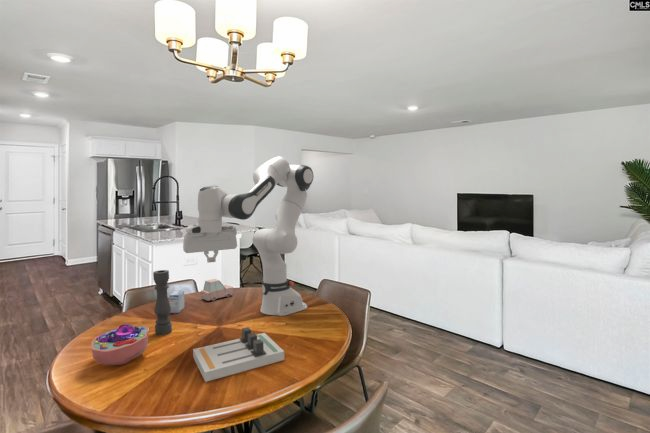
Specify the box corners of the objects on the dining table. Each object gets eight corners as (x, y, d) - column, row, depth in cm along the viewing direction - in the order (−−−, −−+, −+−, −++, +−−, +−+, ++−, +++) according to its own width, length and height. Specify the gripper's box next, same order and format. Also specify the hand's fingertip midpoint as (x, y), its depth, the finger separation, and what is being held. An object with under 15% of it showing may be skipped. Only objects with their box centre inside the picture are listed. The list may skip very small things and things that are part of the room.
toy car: (235, 296, 190) (234, 278, 189) (208, 303, 179) (208, 284, 178) (226, 293, 196) (225, 275, 195) (200, 299, 185) (199, 280, 184)
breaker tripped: (256, 342, 125) (255, 331, 125) (260, 346, 121) (259, 335, 121) (245, 345, 123) (244, 334, 123) (248, 349, 119) (248, 338, 119)
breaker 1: (250, 336, 130) (249, 326, 130) (253, 340, 127) (253, 329, 126) (239, 339, 128) (239, 328, 128) (243, 343, 124) (242, 332, 124)
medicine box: (175, 307, 172) (174, 290, 171) (184, 307, 172) (184, 290, 172) (169, 313, 164) (169, 295, 163) (179, 313, 165) (178, 295, 164)
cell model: (76, 375, 110) (73, 340, 109) (116, 346, 130) (115, 316, 129) (128, 376, 109) (126, 341, 108) (161, 347, 129) (160, 317, 128)
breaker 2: (261, 349, 120) (261, 337, 119) (266, 353, 116) (266, 342, 116) (250, 352, 118) (250, 340, 117) (254, 356, 114) (254, 345, 114)
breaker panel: (264, 340, 134) (264, 332, 134) (284, 359, 119) (284, 351, 119) (193, 357, 121) (193, 349, 120) (205, 381, 105) (204, 372, 105)
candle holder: (165, 336, 139) (162, 273, 137) (151, 334, 140) (148, 273, 138) (175, 329, 145) (172, 270, 143) (161, 328, 146) (159, 269, 144)
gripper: (234, 225, 146) (234, 257, 147) (181, 228, 135) (182, 263, 136) (238, 226, 140) (239, 260, 141) (184, 229, 130) (185, 266, 131)
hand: (211, 262), depth 139 cm, fingers closed
